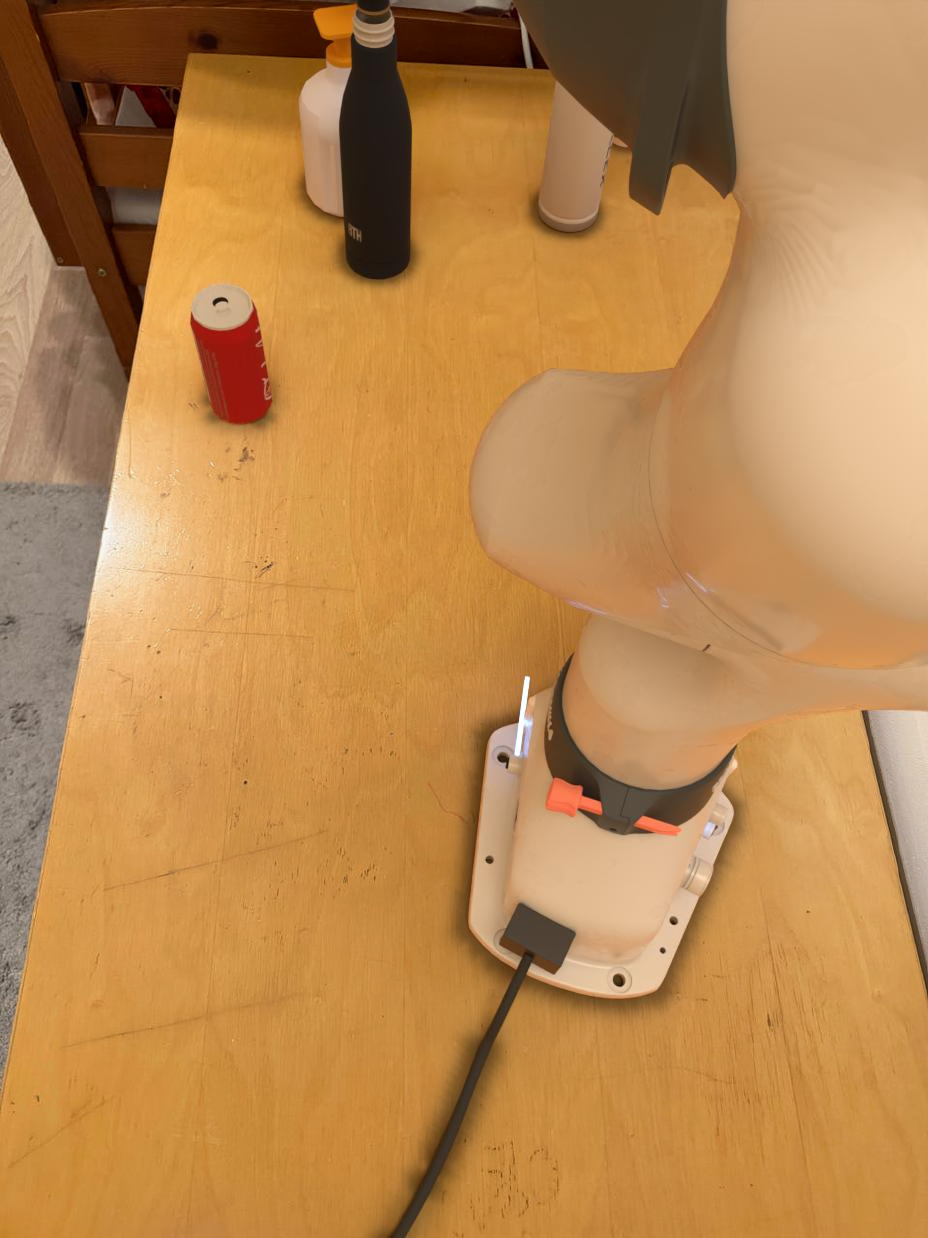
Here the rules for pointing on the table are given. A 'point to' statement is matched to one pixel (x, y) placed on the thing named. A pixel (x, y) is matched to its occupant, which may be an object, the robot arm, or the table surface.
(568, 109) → the travel mug
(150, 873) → the table surface
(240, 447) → the table surface
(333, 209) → the soap bottle
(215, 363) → the soda can
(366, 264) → the black insulated water bottle
